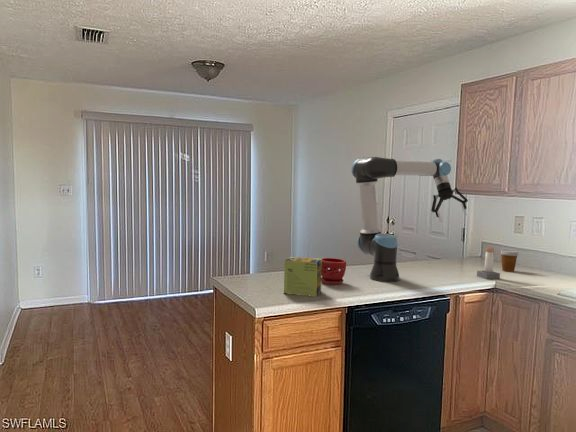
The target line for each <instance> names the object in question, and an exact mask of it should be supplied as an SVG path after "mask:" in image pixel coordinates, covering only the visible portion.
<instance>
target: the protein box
mask: <svg viewBox="0 0 576 432" xmlns="http://www.w3.org/2000/svg"><path fill="white" fill-rule="evenodd" d="M283 270H284V274H283V275H284V276H283V277H284V278H283V280H284V281H283V294H284V293H290V294H289V295H292V294H300V295H299V296H303V295H310V296H309V297H313V296H318V295H320V293H321V292H322V282H321V278H322V276H321V270H322V258H313V257H301V256H300V257H299V256H297V257H296V256H290V257H289V258H287V259H284V269H283Z"/></svg>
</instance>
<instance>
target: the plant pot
mask: <svg viewBox="0 0 576 432" xmlns="http://www.w3.org/2000/svg"><path fill="white" fill-rule="evenodd" d="M321 259H322V270H321V284H324V285H330V286H338V285H341V284H342V283H343V282H344V279H343V278H344V277H345V274H346V269H347V260H345V259H343V258H335V257H324V258H323V257H322V258H321Z"/></svg>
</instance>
